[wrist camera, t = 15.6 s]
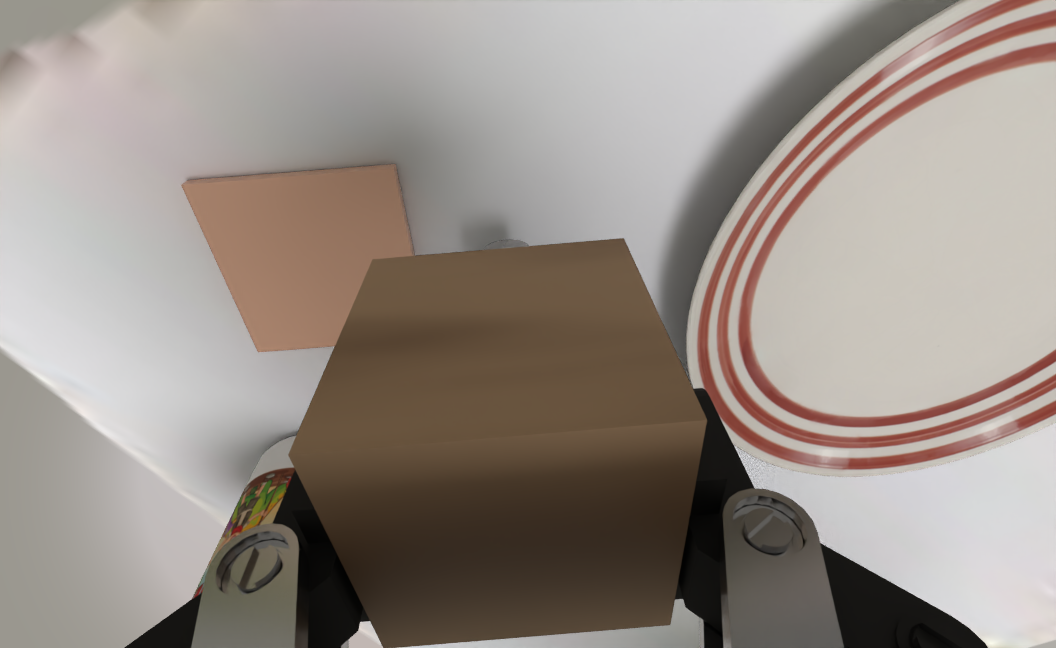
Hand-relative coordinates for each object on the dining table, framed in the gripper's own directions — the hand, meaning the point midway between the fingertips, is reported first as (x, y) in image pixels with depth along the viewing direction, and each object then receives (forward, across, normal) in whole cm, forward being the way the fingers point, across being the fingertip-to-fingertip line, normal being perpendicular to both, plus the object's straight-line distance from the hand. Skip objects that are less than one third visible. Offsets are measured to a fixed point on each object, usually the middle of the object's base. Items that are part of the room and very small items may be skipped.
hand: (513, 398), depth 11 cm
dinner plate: (+15, -22, +6) cm, 27 cm away
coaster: (+14, +9, +3) cm, 17 cm away
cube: (+1, 0, -1) cm, 1 cm away
